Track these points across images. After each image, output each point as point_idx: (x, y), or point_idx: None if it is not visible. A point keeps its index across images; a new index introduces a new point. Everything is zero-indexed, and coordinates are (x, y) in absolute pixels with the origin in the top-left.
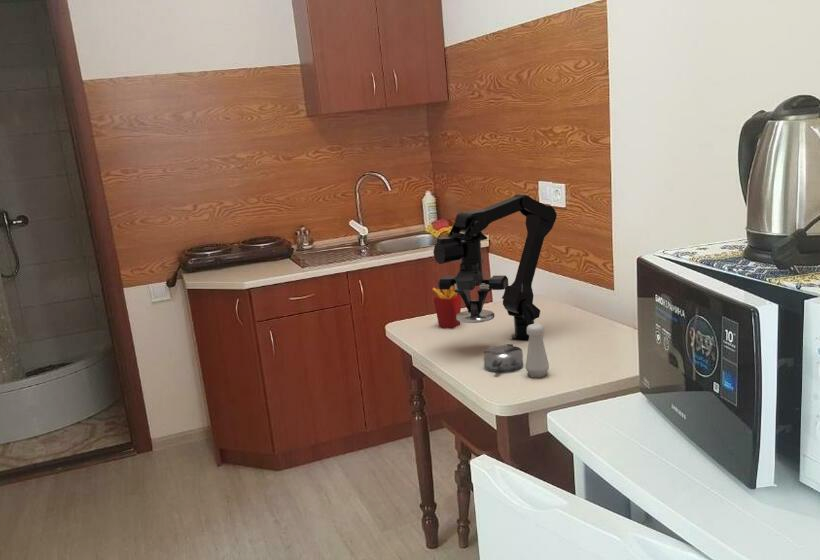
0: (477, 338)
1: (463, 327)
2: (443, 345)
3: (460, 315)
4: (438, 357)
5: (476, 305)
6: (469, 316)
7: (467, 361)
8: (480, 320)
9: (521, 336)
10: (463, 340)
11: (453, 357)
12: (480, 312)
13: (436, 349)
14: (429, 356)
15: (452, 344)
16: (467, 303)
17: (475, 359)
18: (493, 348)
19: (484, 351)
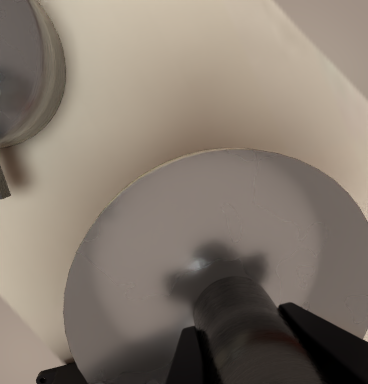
0: None
1: None
2: None
3: (343, 256)
4: (301, 86)
5: (228, 378)
6: (257, 253)
7: (164, 74)
8: (115, 197)
9: (74, 368)
10: None
11: (243, 104)
12: (182, 332)
13: (344, 171)
14: (341, 86)
15: None
16: (363, 369)
17: (144, 109)
18: (4, 78)
19: (24, 7)
